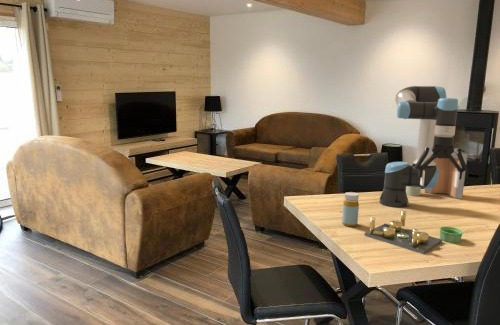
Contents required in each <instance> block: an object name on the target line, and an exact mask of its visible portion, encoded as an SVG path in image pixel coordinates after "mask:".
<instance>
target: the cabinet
mask: <svg viewBox="0 0 500 325" xmlns="http://www.w3.org/2000/svg"><path fill="white" fill-rule="evenodd" d="M461 154H462V156H463V159H464V161H465V164H466V165H467V163H468V156H469V152H467V151H462V150H461ZM451 155H452V156H453V158H454V159H455V161H456V162H457V163H458V165H459V166H460V167H461V168H462V166H461V164H460V161H459V159H458V157H457V154H456V153H455V151H454V152H453V153H452V154H451ZM433 161H434V162H435V163H436V167H438V168H439V175H438V179H437V182H436V185H435V186H434V187H433V188H424V194H428V195H433V196H440V197H445V198H451V199H454V200H455V199H456V200H463V194H464V188H465V178H466V172H467V171H464V172H463V173H462V179H461V180H459V184H458V188H456V187H455V186H454V182H455V173H456V171H458V170H457V169H456V167H455V166H454V165H453V163H452V162H451V161H450V159H449V158H447V159H444V158H436V159H434V160H433Z"/></svg>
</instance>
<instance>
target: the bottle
mask: <svg viewBox="0 0 500 325" xmlns="http://www.w3.org/2000/svg"><path fill="white" fill-rule="evenodd" d="M359 195H360V194H359V193H357V192H353V191H348V192H345V193H344V201H343V203H342V218H341V220H342V222H341V223H342V225H343V226H345V227H348V228H349V227H351V228H355V227H357V225H358V221H359V209H360V204H359Z"/></svg>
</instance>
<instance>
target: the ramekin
mask: <svg viewBox="0 0 500 325" xmlns="http://www.w3.org/2000/svg"><path fill="white" fill-rule="evenodd" d="M463 234H464V231H463V230H462V229H460V228H457V227H455V226H454V227H452V226H441V227H440V228H439V239H442V242H446V243H449V244H458V243H461V241H462V236H463Z"/></svg>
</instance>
